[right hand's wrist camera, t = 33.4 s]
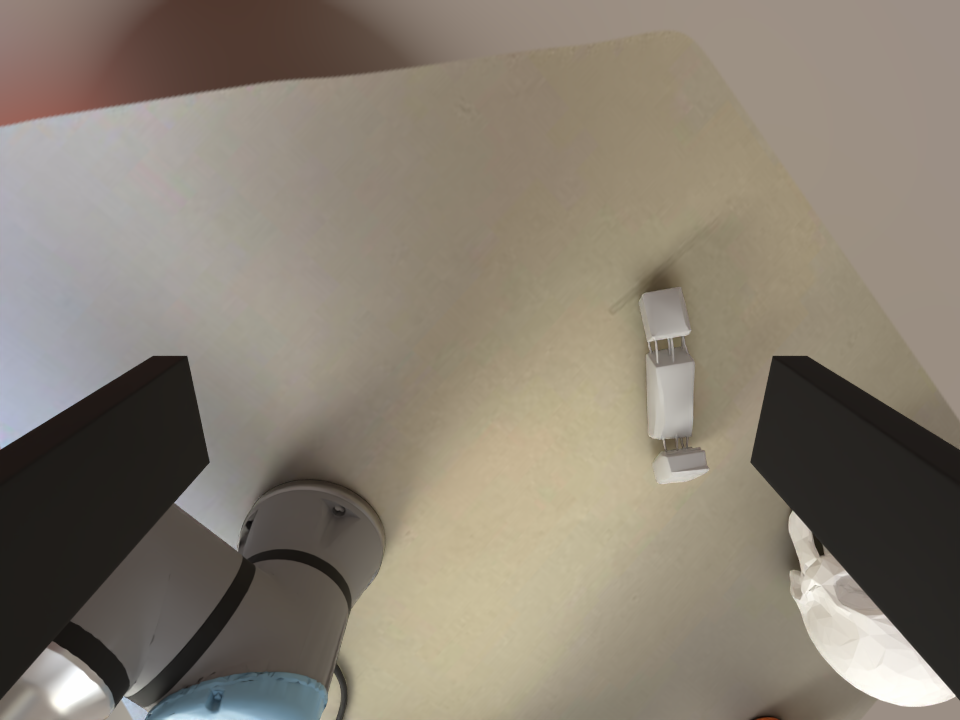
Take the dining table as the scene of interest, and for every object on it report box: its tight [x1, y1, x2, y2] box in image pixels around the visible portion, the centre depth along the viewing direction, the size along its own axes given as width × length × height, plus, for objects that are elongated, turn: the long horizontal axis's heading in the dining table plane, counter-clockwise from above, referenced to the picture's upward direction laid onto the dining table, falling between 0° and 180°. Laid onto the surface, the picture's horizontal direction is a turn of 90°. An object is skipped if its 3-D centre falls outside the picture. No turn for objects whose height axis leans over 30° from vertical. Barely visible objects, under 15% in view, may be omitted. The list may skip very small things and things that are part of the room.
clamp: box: [639, 287, 709, 484], centre depth 50 cm, size 20×4×7 cm, turn 10°
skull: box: [788, 511, 955, 707], centre depth 52 cm, size 13×22×16 cm, turn 22°
